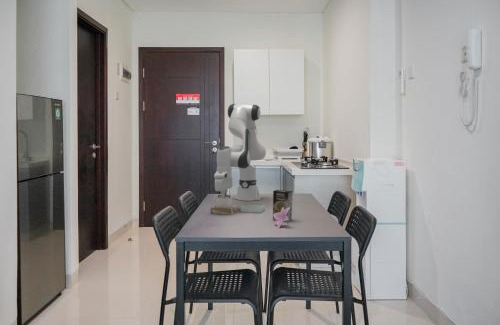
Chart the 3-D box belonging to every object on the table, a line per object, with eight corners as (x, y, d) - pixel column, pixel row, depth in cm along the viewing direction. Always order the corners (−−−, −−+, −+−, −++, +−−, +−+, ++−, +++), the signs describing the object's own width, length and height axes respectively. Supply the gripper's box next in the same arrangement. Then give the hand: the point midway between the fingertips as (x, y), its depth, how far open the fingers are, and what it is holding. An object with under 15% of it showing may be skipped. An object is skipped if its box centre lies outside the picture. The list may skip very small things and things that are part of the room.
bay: (217, 210, 254) (217, 204, 254) (236, 211, 250) (236, 205, 250) (210, 213, 245) (210, 207, 244) (230, 214, 241) (230, 208, 241)
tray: (245, 209, 259) (245, 204, 259) (264, 210, 256) (264, 205, 256) (240, 211, 250) (240, 207, 250) (260, 213, 246) (260, 208, 246)
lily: (273, 224, 220) (267, 210, 216) (294, 216, 219) (288, 201, 215) (277, 236, 209) (270, 221, 205) (298, 228, 208) (292, 212, 204)
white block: (219, 208, 252) (219, 194, 251) (231, 209, 249) (231, 194, 249) (216, 209, 247) (216, 195, 246) (229, 210, 245) (229, 196, 244)
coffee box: (272, 220, 226) (272, 190, 225) (277, 218, 232) (277, 189, 231) (287, 221, 222) (288, 191, 221) (292, 219, 228) (292, 190, 226)
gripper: (225, 172, 257) (225, 194, 258) (212, 175, 238) (212, 199, 239) (235, 172, 256) (235, 194, 257) (222, 175, 236) (222, 199, 237)
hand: (224, 197), depth 248 cm, fingers closed on white block
